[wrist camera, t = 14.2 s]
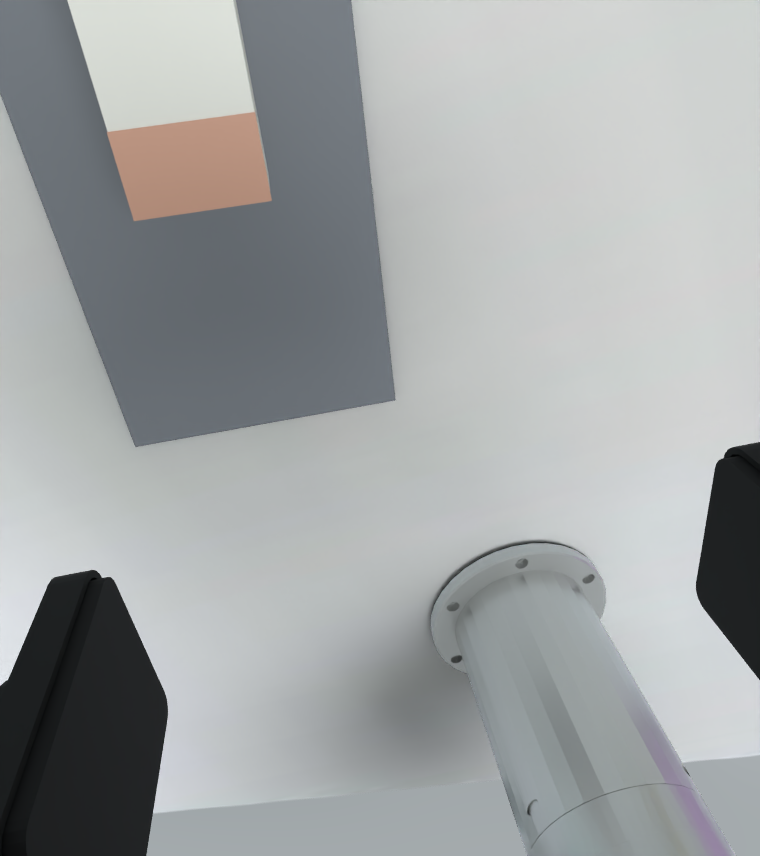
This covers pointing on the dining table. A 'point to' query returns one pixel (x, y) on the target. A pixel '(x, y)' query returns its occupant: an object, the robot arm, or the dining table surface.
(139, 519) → the dining table surface
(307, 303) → the mat
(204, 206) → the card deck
